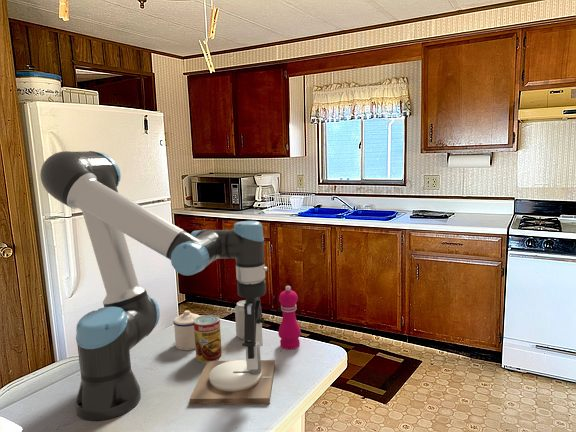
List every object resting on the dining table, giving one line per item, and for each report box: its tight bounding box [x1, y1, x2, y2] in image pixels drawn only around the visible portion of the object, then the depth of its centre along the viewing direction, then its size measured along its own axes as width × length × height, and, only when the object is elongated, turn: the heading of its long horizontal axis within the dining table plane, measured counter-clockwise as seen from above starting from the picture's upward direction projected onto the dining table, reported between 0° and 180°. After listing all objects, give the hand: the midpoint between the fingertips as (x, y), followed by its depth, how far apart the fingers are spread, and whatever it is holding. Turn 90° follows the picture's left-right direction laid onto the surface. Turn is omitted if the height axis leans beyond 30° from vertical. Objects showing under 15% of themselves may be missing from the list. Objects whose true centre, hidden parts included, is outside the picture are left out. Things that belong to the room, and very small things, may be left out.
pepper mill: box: [278, 285, 302, 350], centre depth 137 cm, size 7×7×20 cm
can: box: [234, 299, 247, 340], centre depth 146 cm, size 8×8×12 cm
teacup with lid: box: [172, 310, 201, 351], centre depth 142 cm, size 12×9×12 cm
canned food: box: [194, 314, 223, 363], centre depth 132 cm, size 8×8×12 cm
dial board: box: [189, 359, 276, 406], centre depth 116 cm, size 20×20×2 cm
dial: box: [209, 342, 262, 392], centre depth 115 cm, size 14×14×10 cm
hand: (255, 356), depth 115 cm, fingers open, 13 cm apart
